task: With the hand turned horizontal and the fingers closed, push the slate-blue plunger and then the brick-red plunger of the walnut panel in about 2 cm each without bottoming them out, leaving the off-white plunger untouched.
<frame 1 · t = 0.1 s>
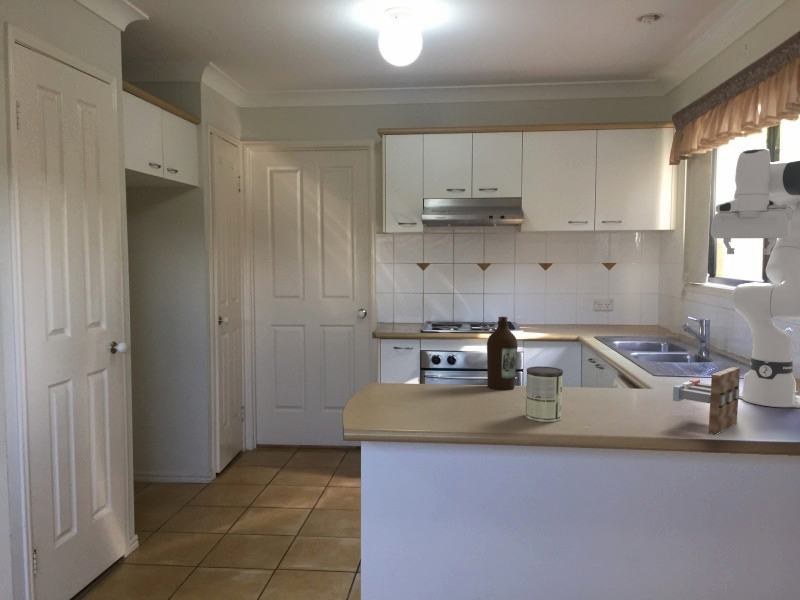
hand: (748, 254, 181), 48 cm above the worktop, tool pointing down, fingers open, 8 cm apart
olive oil: (500, 388, 223), on the worktop
slate-blue plunger: (699, 396, 174), point 9 cm above the worktop, slide at 0.0 cm
coffee can: (543, 418, 184), on the worktop
off-white plunger: (706, 393, 178), point 9 cm above the worktop, slide at 0.0 cm
walnut panel: (723, 427, 176), on the worktop
brick-red plunger: (714, 390, 182), point 9 cm above the worktop, slide at 0.0 cm
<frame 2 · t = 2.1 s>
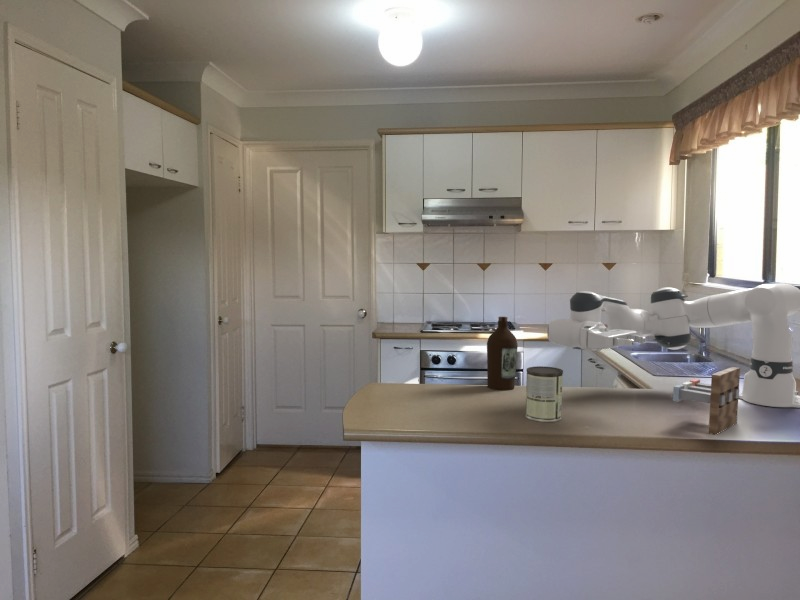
hand: (638, 341, 185), 22 cm above the worktop, tool horizontal, fingers open, 7 cm apart
nothing on the worktop moved.
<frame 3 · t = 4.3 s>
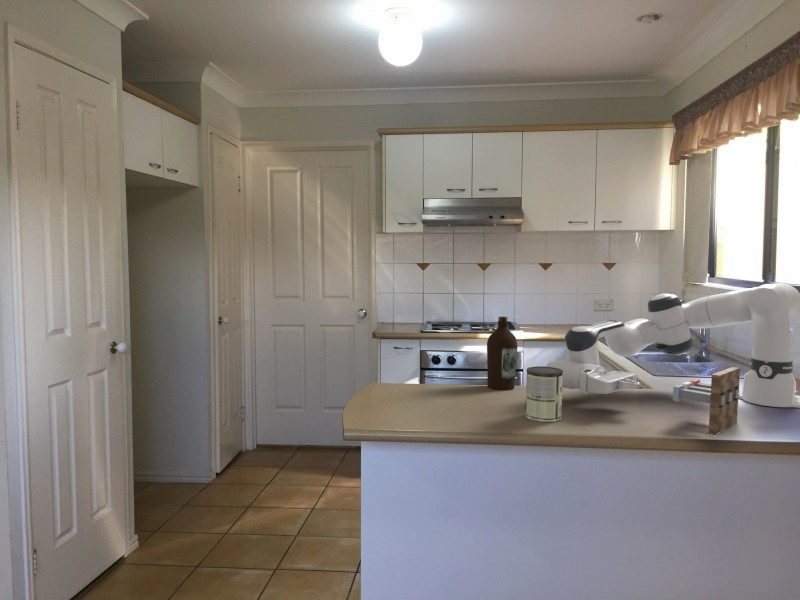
hand: (638, 386, 186), 9 cm above the worktop, tool horizontal, fingers closed
nothing on the worktop moved.
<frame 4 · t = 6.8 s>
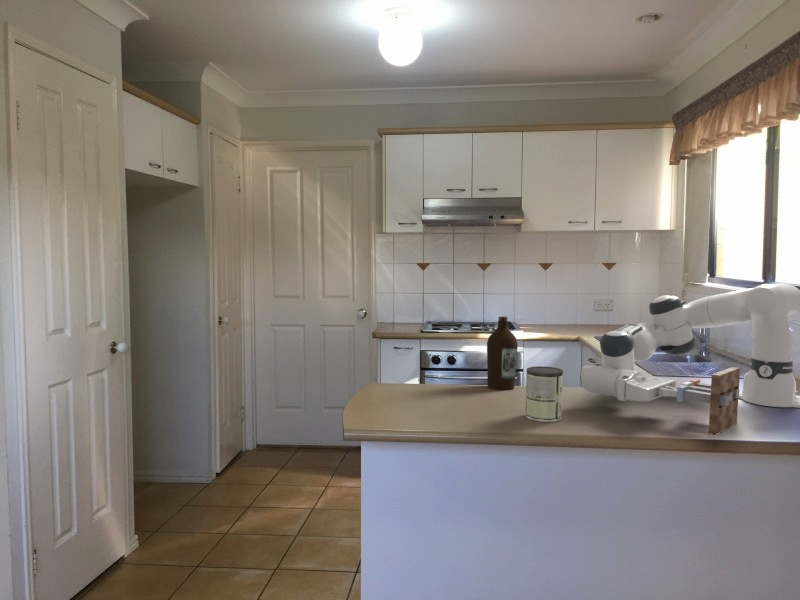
hand: (679, 393, 177), 9 cm above the worktop, tool horizontal, fingers closed, pressing on slate-blue plunger
slate-blue plunger: (703, 397, 173), point 9 cm above the worktop, slide at 1.0 cm, touching gripper
everything else where it was.
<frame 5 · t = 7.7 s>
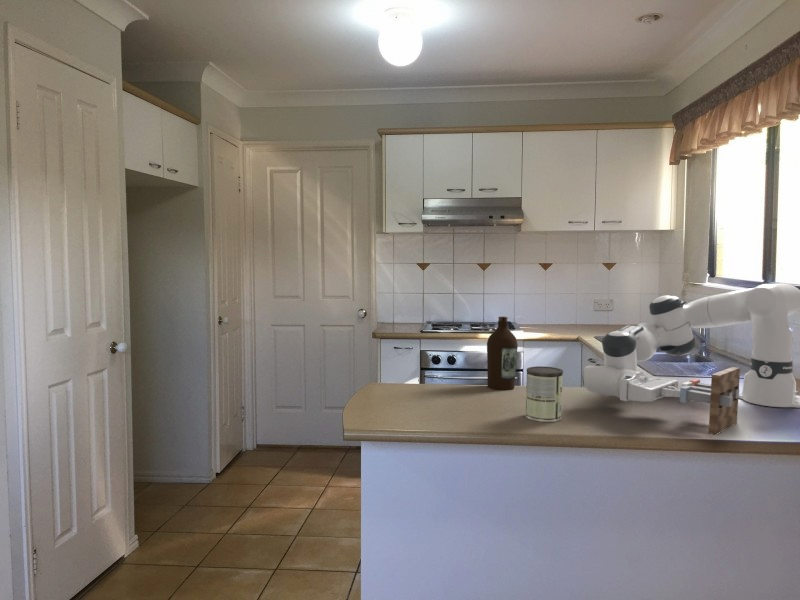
hand: (681, 393, 177), 9 cm above the worktop, tool horizontal, fingers closed
slate-blue plunger: (706, 397, 173), point 9 cm above the worktop, slide at 1.9 cm
everything else where it was.
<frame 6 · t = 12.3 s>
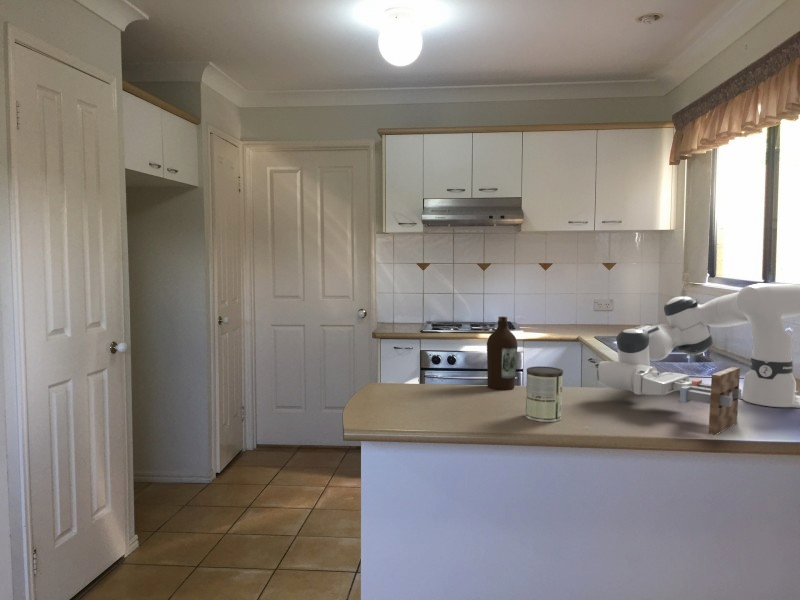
hand: (693, 387, 186), 9 cm above the worktop, tool horizontal, fingers closed, pressing on brick-red plunger
brick-red plunger: (716, 390, 182), point 9 cm above the worktop, slide at 0.5 cm, touching gripper
everything else where it was.
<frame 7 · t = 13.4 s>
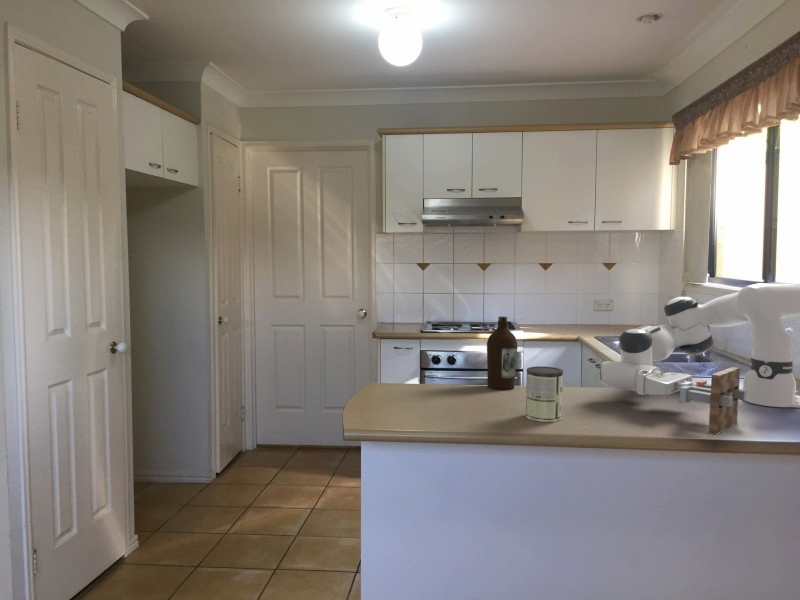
hand: (696, 387, 186), 9 cm above the worktop, tool horizontal, fingers closed
brick-red plunger: (721, 391, 181), point 9 cm above the worktop, slide at 1.9 cm
everything else where it was.
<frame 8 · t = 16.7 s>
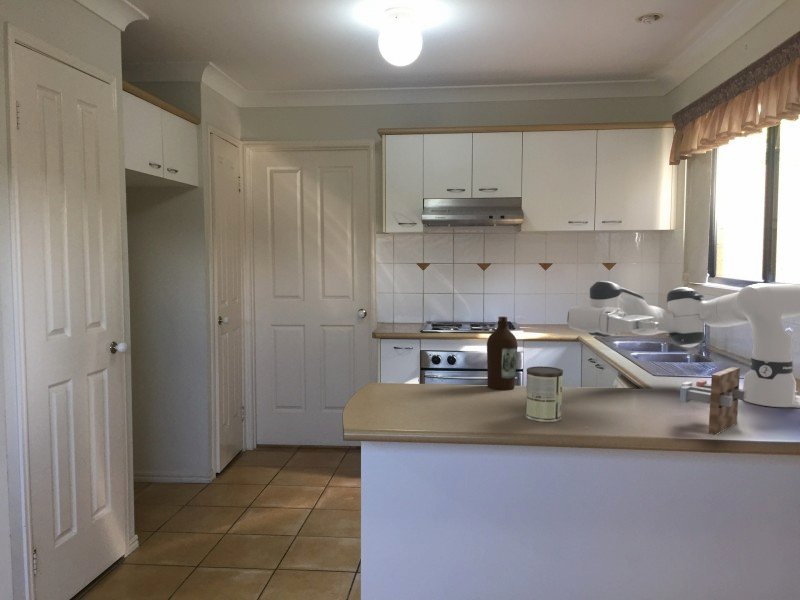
hand: (657, 325, 193), 26 cm above the worktop, tool horizontal, fingers closed
nothing on the worktop moved.
at the end: slate-blue plunger slide at 1.9 cm; brick-red plunger slide at 1.9 cm; off-white plunger slide at 0.0 cm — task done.
